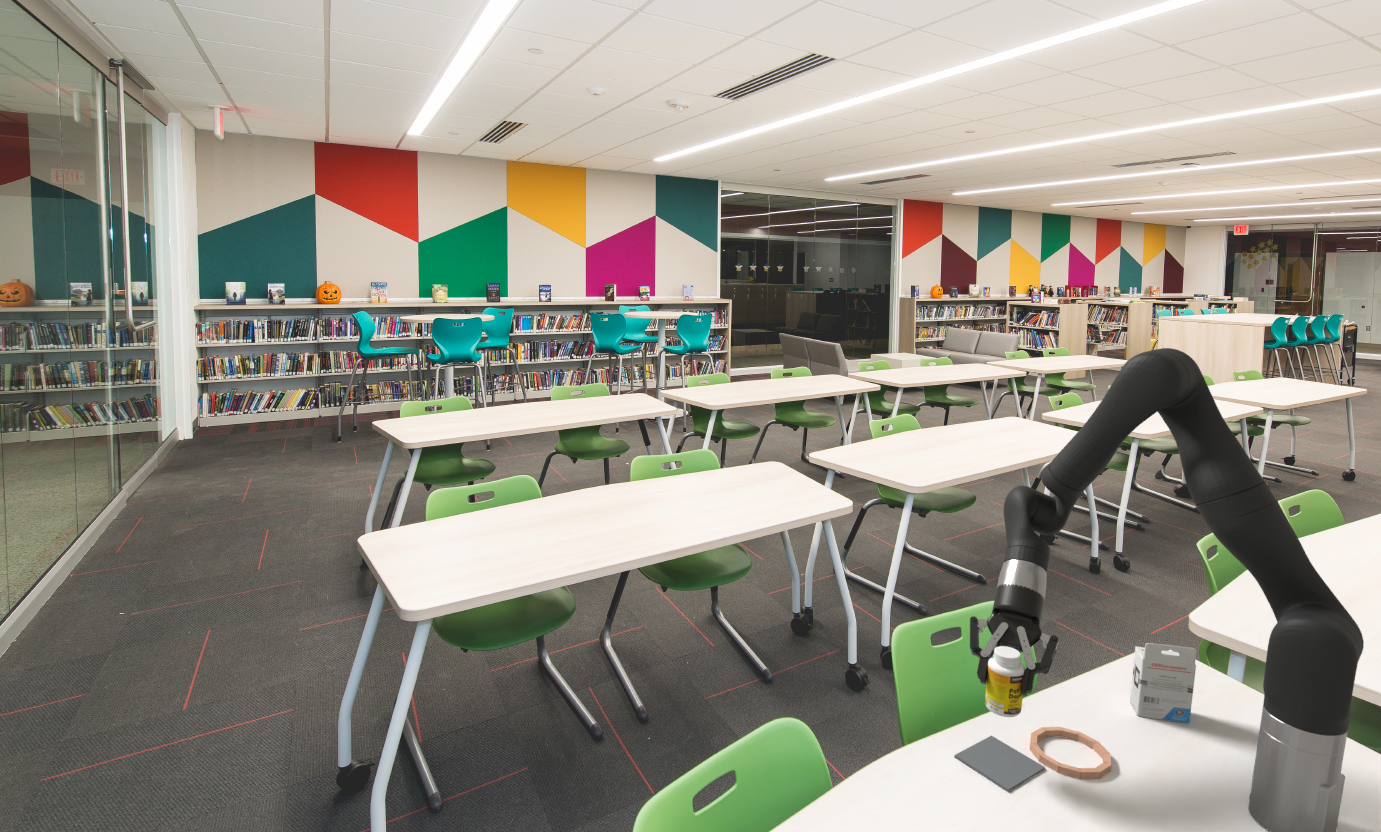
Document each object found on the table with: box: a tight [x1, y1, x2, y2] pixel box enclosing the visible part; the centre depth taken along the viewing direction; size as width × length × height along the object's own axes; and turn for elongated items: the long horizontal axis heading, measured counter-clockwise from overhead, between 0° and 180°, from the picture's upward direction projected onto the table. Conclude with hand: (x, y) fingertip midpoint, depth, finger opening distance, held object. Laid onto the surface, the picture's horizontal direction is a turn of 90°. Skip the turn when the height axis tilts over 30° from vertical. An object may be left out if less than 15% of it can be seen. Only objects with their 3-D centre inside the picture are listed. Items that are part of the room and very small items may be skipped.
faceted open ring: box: [1029, 726, 1112, 780], centre depth 118 cm, size 12×12×1 cm
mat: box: [954, 735, 1046, 793], centre depth 117 cm, size 10×10×1 cm
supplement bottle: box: [984, 646, 1026, 718], centre depth 114 cm, size 6×6×10 cm
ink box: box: [1129, 642, 1198, 724], centre depth 129 cm, size 9×5×15 cm, turn 73°
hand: (1003, 687), depth 113 cm, fingers closed on supplement bottle, 5 cm apart
